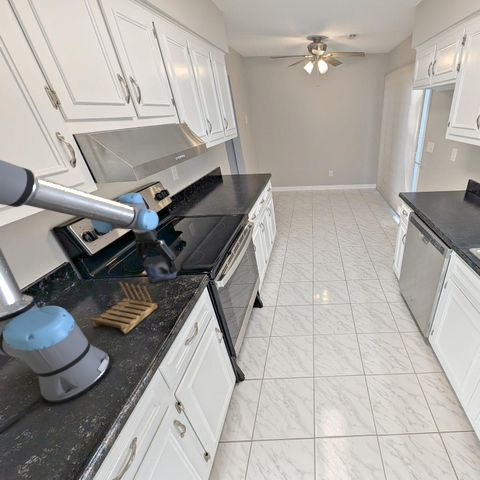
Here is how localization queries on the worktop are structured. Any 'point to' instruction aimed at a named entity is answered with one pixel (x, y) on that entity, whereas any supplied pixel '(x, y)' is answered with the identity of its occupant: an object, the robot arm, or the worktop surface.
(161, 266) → the small box
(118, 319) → the dish rack
